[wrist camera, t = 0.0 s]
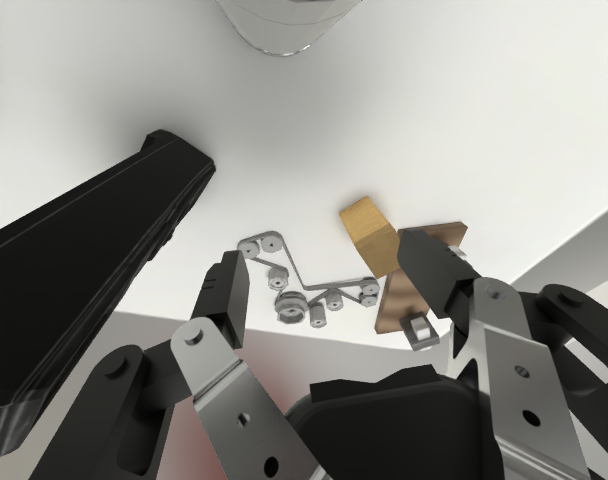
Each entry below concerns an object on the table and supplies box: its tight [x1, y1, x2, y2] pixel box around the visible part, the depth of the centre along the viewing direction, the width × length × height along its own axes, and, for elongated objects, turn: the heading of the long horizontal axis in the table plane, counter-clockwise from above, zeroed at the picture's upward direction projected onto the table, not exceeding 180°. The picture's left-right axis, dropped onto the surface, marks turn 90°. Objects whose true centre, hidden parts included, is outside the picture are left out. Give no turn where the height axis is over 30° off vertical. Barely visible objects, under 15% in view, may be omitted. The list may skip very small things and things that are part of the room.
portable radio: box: [0, 130, 216, 457], centre depth 14 cm, size 8×6×25 cm
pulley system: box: [237, 231, 380, 328], centre depth 37 cm, size 27×5×15 cm
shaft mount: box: [375, 222, 473, 351], centre depth 39 cm, size 27×10×7 cm, turn 4°
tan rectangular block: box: [339, 196, 400, 279], centre depth 28 cm, size 6×4×8 cm
